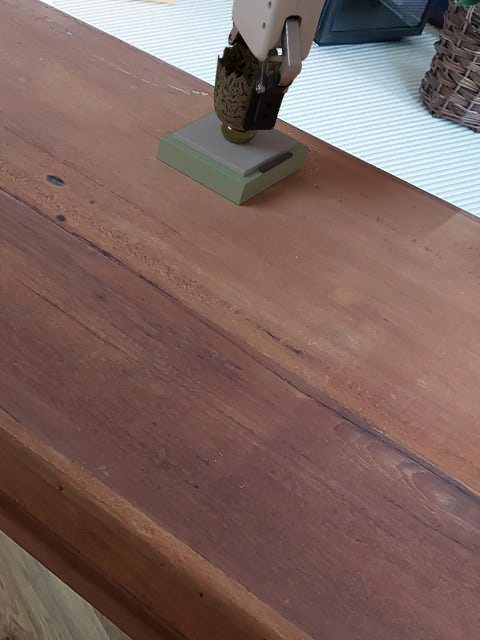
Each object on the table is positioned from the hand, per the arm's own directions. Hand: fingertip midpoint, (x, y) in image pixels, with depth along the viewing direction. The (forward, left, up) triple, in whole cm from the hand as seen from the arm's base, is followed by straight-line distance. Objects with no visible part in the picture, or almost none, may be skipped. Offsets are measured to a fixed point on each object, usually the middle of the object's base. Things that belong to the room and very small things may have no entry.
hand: (245, 106), depth 89 cm
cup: (0, 0, -3) cm, 3 cm away
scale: (0, 0, -6) cm, 6 cm away
